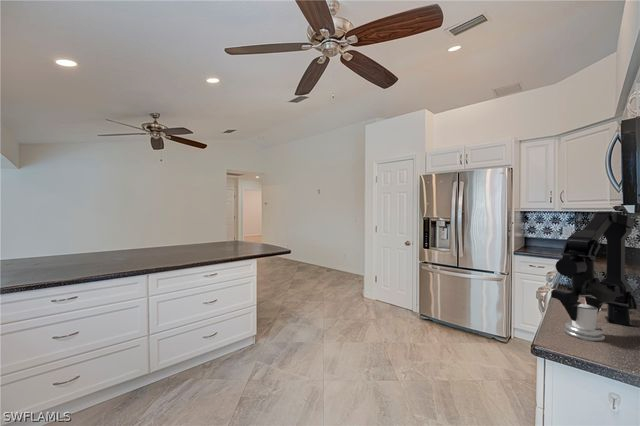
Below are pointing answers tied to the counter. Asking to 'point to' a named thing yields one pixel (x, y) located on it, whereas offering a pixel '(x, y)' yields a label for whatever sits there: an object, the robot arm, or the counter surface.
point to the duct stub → (584, 333)
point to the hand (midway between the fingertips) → (583, 319)
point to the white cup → (586, 317)
